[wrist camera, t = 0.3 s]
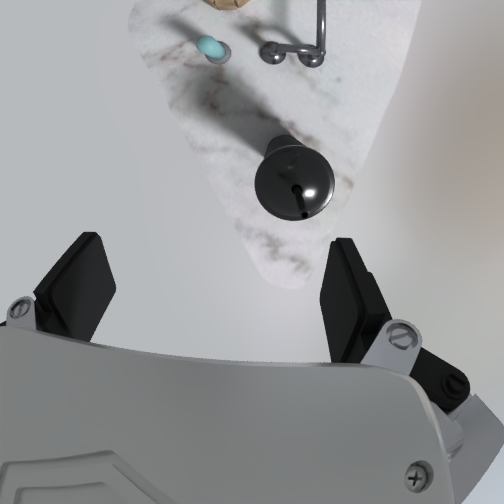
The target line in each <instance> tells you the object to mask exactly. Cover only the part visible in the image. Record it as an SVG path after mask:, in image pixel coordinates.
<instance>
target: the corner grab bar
mask: <svg viewBox="0 0 504 504" xmlns="http://www.w3.org/2000/svg"><path fill="white" fill-rule="evenodd" d="M325 40H326V0H317V40H316V47H315V46H301V45H290V44H278V43H274V42H273V43H268V44H266V45H264V46H263V48H262V50H261V57H262V59H263V60H264V61H265V62H266V63H268V64H273V65H275V64H279V63H281V62H282V61H283V60H284V59H285V56H286V52H290V53H300V55H299V57H300V60H301V62H302V63H303V64H304V65H305V66H307V67H311V68H315V67H318V66H320V65H321V64H322V63H323V61H324V55H325V54H326V50H325Z"/></svg>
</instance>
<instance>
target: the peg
mask: <svg viewBox="0 0 504 504" xmlns="http://www.w3.org/2000/svg"><path fill="white" fill-rule="evenodd" d="M197 48H198V50H199V51H201V52H202V53H204V54H206V56H207V58H208V60H209V61H210V62H212V63H214V64H223V63H225V62H227V61H228V60H229V59H230V57H231V49H230V47H229V46H228V45H227V44H225V43H221V42H217V41H216V40H215V39H214V38H213V37H212V36H203V37H201V38H200V39H199V40H198V41H197Z"/></svg>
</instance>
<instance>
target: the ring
mask: <svg viewBox="0 0 504 504" xmlns="http://www.w3.org/2000/svg"><path fill="white" fill-rule="evenodd" d="M205 1H206V2H207V3H208V4H210V5H211V6H213V7H214V8H215V9H217V8H218V9H219V10H234V9H236V6H237V7H238V8H240V7H242V6H243V5H244V4H246V3H247V2H248V1H250V0H205Z"/></svg>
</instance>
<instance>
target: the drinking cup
mask: <svg viewBox="0 0 504 504" xmlns="http://www.w3.org/2000/svg"><path fill="white" fill-rule="evenodd" d="M334 186H335V179H334V174H333V170H332V168H331V166H330V164H329V163H328V161H327V160H326V159H325V158H324V157H323V156H322V155H321V154H320V153H319V152H317V151H316V150H314V149H312V148H309V147H306V146H305V145H303V144H302V143H301V142H299V141H298V140H296V139H295V138H293V137H291V136H288V135H281V136H278V137H276V138H274V139H273V140H272V141H271V142H270V143H269V145H268V148H267V151H266V154H265V157H264V159H263V161H262V162H261V163H260V165H259V167H258V169H257V172H256V176H255V192H256V195H257V198H258V200H259V202H260V204H261V205H262V206H263V207H264V209H265V210H267V211H268V212H269V213H270V214H272V215H273V216H275V217H278V218H280V219H283V220H289V221H299V220H305V219H308V218H310V217H313V216H315V215H316V214H318V213H319V212H321V211H322V210H323V209H324V208H325V207H326V205H327V204H328V203H329V201H330V199H331V197H332V195H333V192H334Z"/></svg>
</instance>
